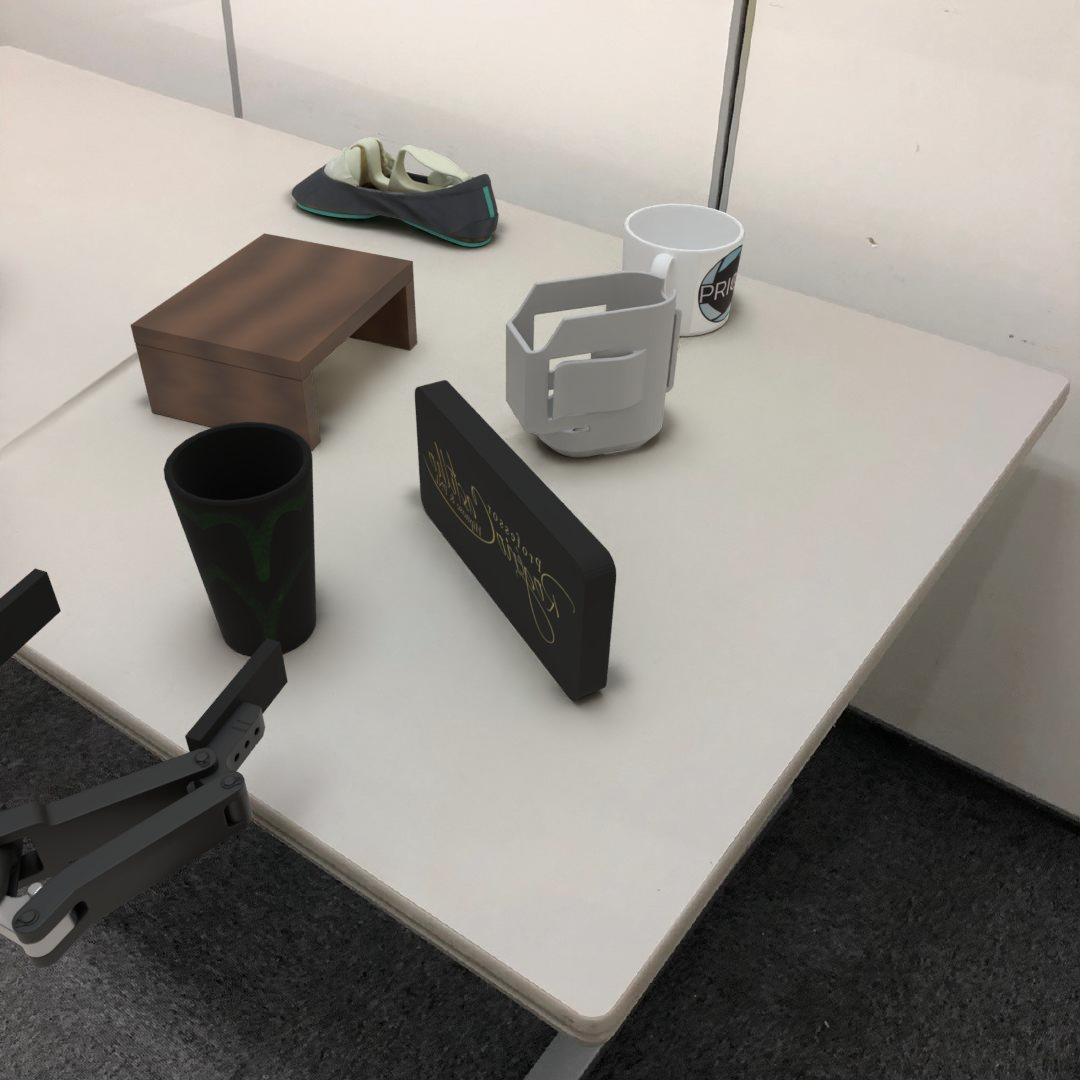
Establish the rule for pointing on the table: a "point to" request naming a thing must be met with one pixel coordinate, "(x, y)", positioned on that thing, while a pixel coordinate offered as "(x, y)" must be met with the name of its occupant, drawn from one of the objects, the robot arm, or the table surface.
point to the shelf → (269, 331)
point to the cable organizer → (595, 362)
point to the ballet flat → (403, 192)
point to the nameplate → (517, 539)
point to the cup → (250, 529)
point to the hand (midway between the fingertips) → (159, 623)
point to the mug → (687, 258)
